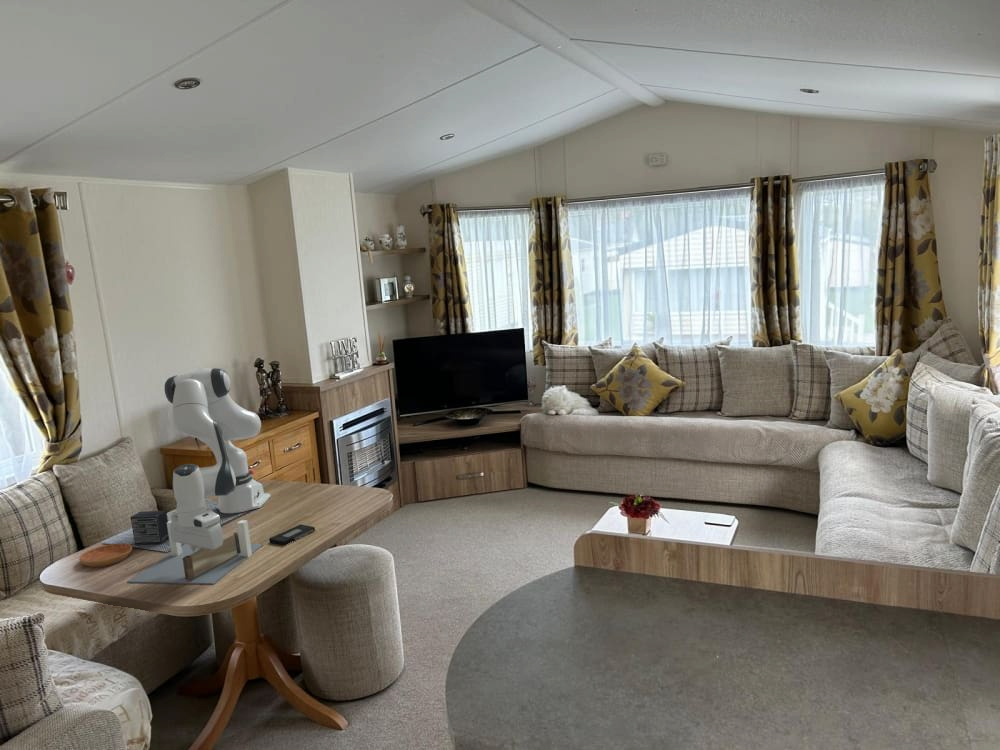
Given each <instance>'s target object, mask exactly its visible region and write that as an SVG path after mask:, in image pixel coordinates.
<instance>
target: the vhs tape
mask: <svg viewBox="0 0 1000 750" xmlns="http://www.w3.org/2000/svg"><path fill="white" fill-rule="evenodd" d="M313 531H315V532H316V528H315V526H312V525H311V526H310V525H305V524H301V523H300V524H298V525H296V526H294V527H291V528H289V529H287V530H285V531H282V532H280V533H278V534H276V535H274V536H271V537H269V538H268V540H269V544H274V545H278V546H283V545H286V544H288V543H290V542H292V541H294V540H296V539H298V538H300V537H302V536H304V535H306V534H308V533H310V532H312V533H314V532H313ZM310 534H311V533H310ZM308 535H309V534H308ZM306 536H307V535H306ZM304 537H305V536H304ZM302 538H303V537H302ZM300 539H301V538H300ZM298 540H299V539H298ZM296 541H297V540H296ZM294 542H295V541H294ZM292 543H293V542H292ZM290 544H291V543H290ZM288 545H289V544H288ZM286 546H287V545H286Z"/></svg>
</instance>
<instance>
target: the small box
mask: <svg viewBox="0 0 1000 750" xmlns="http://www.w3.org/2000/svg"><path fill="white" fill-rule="evenodd" d="M167 522H169V519H168V512H167V510H148V511H138V512H137V513H135V514H134V515H131V516H130V523H131V528H132V534H133V535H132V536H133V540H134V541H133V542H134V545H135V546H137V545H161V544H163V543H165V542H166V541H168V540H169V535H168V528H167Z"/></svg>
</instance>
